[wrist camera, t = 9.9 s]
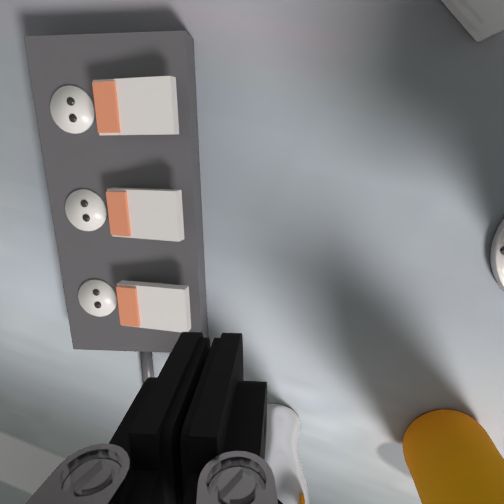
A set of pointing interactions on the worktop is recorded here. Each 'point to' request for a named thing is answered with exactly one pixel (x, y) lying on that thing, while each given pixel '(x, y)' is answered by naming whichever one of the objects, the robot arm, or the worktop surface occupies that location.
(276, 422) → the beer glass
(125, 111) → the rocker outlet
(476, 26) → the supplement box
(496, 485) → the beer bottle
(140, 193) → the outlet rocker
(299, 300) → the worktop surface
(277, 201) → the worktop surface
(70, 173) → the power strip
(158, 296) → the outlet rocker
